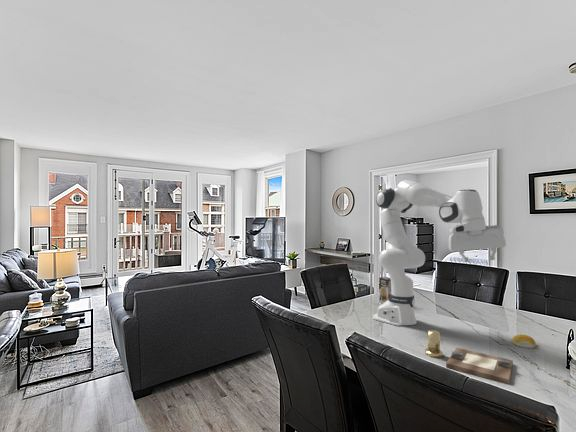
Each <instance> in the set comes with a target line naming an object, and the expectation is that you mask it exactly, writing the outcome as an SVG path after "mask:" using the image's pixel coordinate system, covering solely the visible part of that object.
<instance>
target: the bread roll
mask: <svg viewBox="0 0 576 432" xmlns="http://www.w3.org/2000/svg"><path fill="white" fill-rule="evenodd" d="M511 342H512V343H513V344H514V346H517V347H521V348H525V349H534V348H536V346H537V344H536V341H535V339H534V338H532V336H529V335H527V334H526V335H525V334H517V335H514V336H513V337H512V338H511Z"/></svg>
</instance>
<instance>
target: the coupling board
mask: <svg viewBox="0 0 576 432" xmlns="http://www.w3.org/2000/svg"><path fill="white" fill-rule="evenodd" d="M445 364H446V365H445V366H446V368H447V369H451V370H455V371H459V372H463V373H467V374H471V375H473V376H477V377H480V378H485V379H489V380H492V381H496V382H500V383H504V384H507V385H509V384H510V381H511V375H512V371H513V366H514V360H513V359H509V358H506V357H505V358H504V357H499V356H495V355H491V354H487V353H482V352H477V351H473V350H469V349H466V348H460V347H456V348H455V349H454V351H451V355H450V357H449V358H448V360H447V361H446V363H445Z"/></svg>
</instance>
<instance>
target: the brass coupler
mask: <svg viewBox="0 0 576 432" xmlns="http://www.w3.org/2000/svg"><path fill="white" fill-rule="evenodd" d="M424 352H425V355H426V356H428V357H430V358H433V359H440V358H442V357H443V356H444V354H443V351H442V350H441V332H440V331H438V330H433V329H430V330H429V329H428V330H427V348H425V351H424Z"/></svg>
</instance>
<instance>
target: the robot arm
mask: <svg viewBox="0 0 576 432" xmlns="http://www.w3.org/2000/svg"><path fill="white" fill-rule="evenodd" d="M375 202H376V205H377V206H378V207H379V208H380V209H382V210H381V212H380V217H379V218H380V223H381V224H380V225H381V228H382V232H383V235H384V239H385V241H386V242H387V243H388V244H389V245H391V246H393V248H387V249H384V250H381V252H380V253H379V255H378V262H379V264H380V266H381V267H382V268H383V269H384V270H385V271H386V272H387V274H388V275H389V278H390V279H391V293H390V294H389V295H388V297H387V298H388V301H386V302H384V303H382V304H380V305H379V306H378V307H377V311H376V313H374V314H373V315H372V319H373V320H375V321H377V322H378V321H379V322H382V323H386V324H389V325H392V326H395V327H396V326H397V327H399V326H414V325H417V323H418V322H417V317H416V313H415V303H416V301H415V295H414V281H413V279H412V278H411V277H410V276H408V275H406V272H405V270H406V269H407V270H408V269H409V270H410V269H417V268H420V267H422V266H423V265H424V264H425V262H426V255H425V253H424V251H423V250H421V249H420V248H419V247H417V246H416V245H415V244H413V242H412V241H411V240H410V239H409V237H408V235H407V233H406V230H405V228H404V224H403V221H402V219H401V214H405V213H407V211H408V210H410V209H411V208H412V207H413V206H417V207H436V208H438V216H439V218H440V219H441V221H442V222H444V223H448V224H455V223H456V224H457V225H455V226H454V227H451V228H450V229H449V230H448V232H449V236H448V249H449V251H450V252H459V255H460V256H461V257H462V259H463V262H464V263H468V262H470V261H469V260H470V259H469V257H466V255H465V251H475V250H488V249H490V251H491V254H490V255H488V258H489V261H494V260H496V257H495V255H496V254H497V251H498V250H497V249H498V248H499V249H500V248H505V247H506V245H507V243H506V238H505V236H504V229H503V227H502V226H501V225H498V224H494V225H487V224H486V220H485V219H486V218H485V217H484V216H485V215H483V204H482V199H481V196H480V194H479V192H478V191H477V190H476V189H469V188H468V189H460V190H458V191H456V192H455V194H454V195H453V196H450V195H448V194H445V193H442V192H440V191H437V190H435V189H432V188H431V187H429V186H427V185H424V184H422V183H420V182H417V181H414V180H410V179H404V180H401V181H400V182H399V183H398V184H397V186H396V188H391V187H389V188H385V189H382V190H380V191H378V192H377V194H376V197H375ZM458 223H459V224H458Z"/></svg>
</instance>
